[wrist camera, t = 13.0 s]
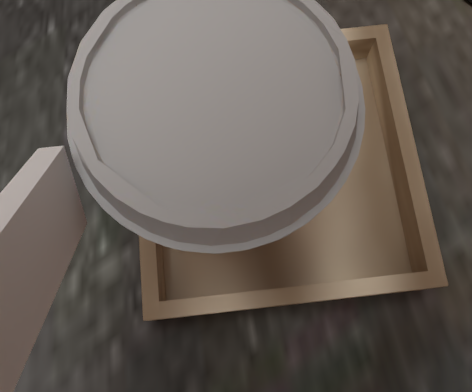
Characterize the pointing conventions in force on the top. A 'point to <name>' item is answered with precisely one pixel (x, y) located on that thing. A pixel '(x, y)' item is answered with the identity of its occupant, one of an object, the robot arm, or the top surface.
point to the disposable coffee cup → (214, 118)
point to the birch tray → (324, 224)
